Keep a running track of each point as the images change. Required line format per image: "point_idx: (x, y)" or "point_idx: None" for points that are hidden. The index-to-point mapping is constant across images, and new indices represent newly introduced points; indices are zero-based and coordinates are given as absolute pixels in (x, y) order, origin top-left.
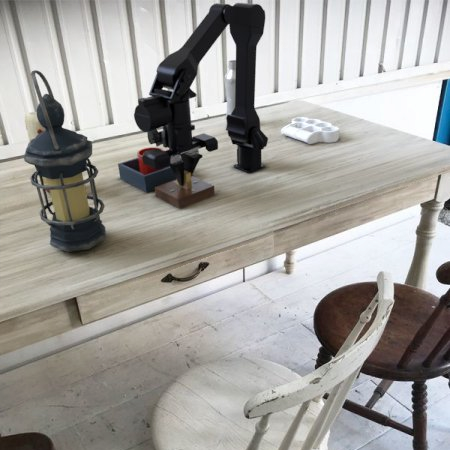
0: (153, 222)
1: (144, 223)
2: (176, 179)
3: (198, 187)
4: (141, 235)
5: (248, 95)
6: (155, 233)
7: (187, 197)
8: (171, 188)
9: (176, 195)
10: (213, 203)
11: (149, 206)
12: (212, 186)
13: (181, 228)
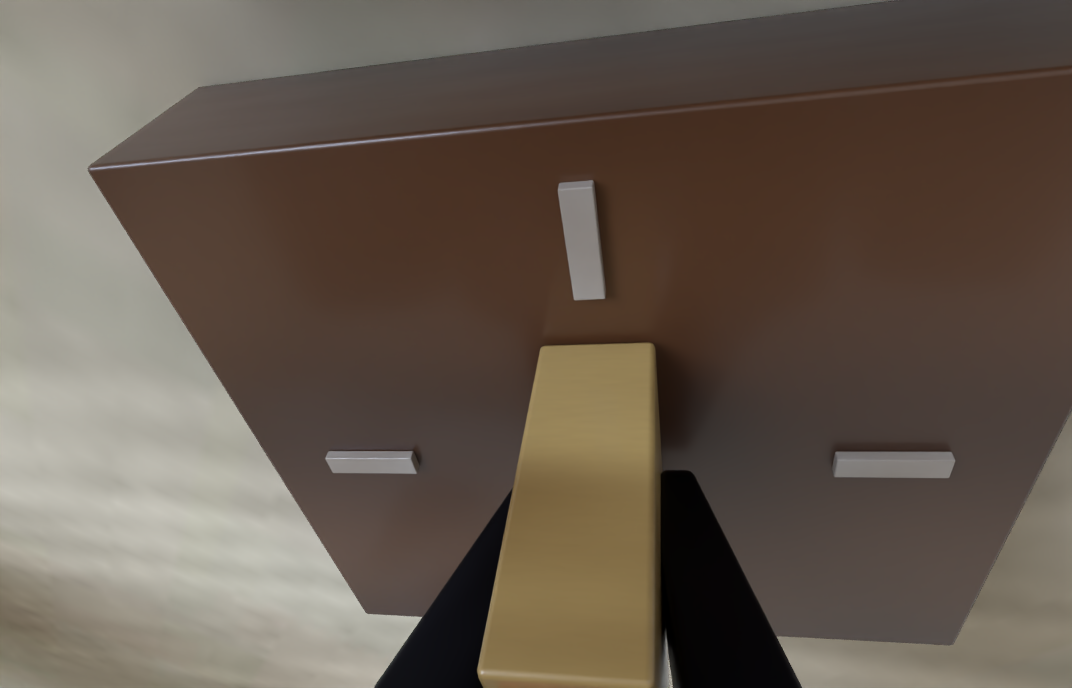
0: (122, 532)
1: (44, 507)
2: (523, 440)
3: (753, 579)
4: (32, 586)
5: None
6: (130, 613)
7: None
8: (389, 398)
9: (376, 558)
10: None
11: (86, 300)
12: (918, 642)
13: (310, 656)
